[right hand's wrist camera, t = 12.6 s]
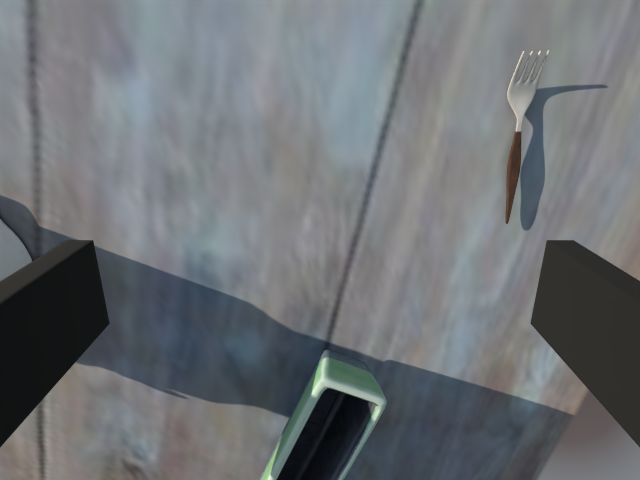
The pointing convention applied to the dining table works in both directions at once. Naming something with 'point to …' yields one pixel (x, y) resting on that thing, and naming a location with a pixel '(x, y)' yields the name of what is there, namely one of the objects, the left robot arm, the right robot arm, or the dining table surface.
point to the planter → (328, 422)
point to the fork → (519, 121)
